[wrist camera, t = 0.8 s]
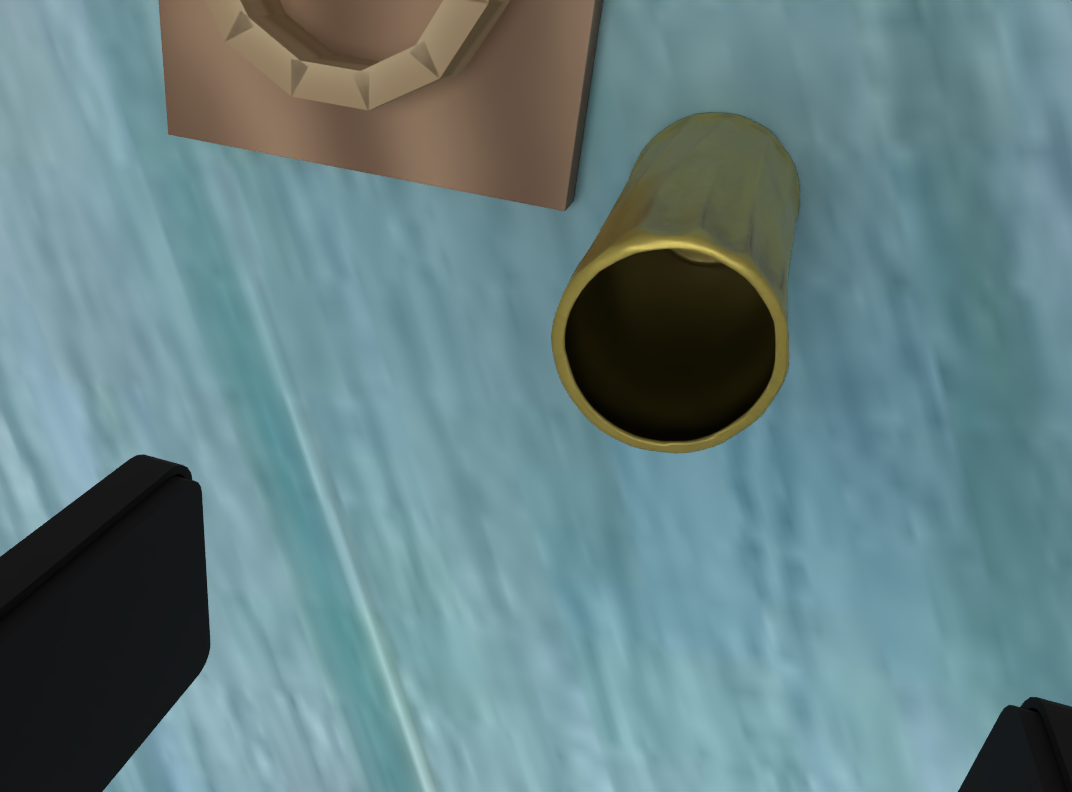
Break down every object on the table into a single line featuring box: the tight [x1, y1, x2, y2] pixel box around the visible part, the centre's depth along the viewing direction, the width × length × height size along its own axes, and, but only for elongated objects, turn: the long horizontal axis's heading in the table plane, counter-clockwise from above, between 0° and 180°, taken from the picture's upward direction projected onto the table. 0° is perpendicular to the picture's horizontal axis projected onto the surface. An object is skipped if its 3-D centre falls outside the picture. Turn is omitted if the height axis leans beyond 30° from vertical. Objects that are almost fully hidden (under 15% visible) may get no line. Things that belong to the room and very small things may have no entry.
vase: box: [551, 113, 800, 453], centre depth 25 cm, size 6×6×14 cm
